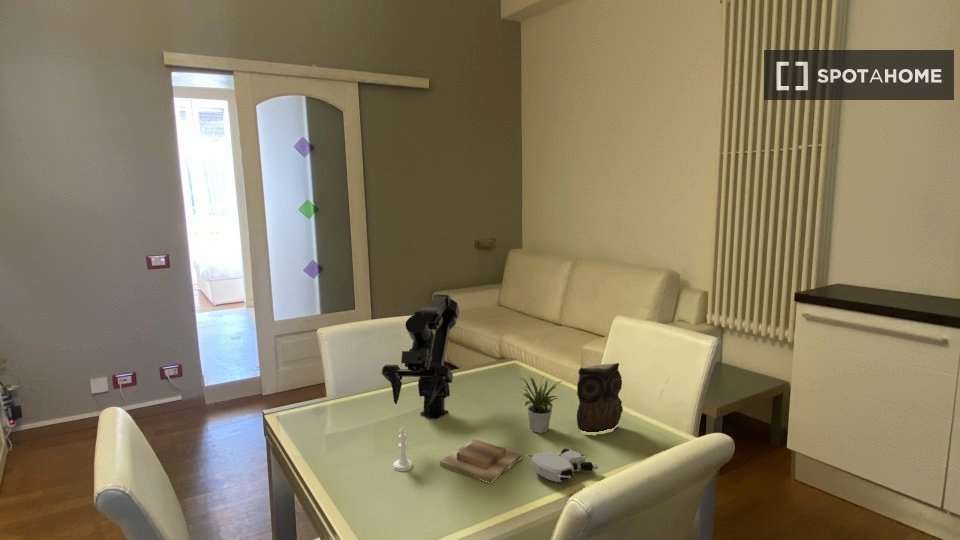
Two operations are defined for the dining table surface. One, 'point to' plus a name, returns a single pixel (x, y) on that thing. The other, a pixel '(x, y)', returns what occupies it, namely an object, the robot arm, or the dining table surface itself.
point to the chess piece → (402, 454)
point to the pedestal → (481, 460)
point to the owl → (599, 397)
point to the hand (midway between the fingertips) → (411, 404)
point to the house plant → (539, 406)
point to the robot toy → (560, 464)
